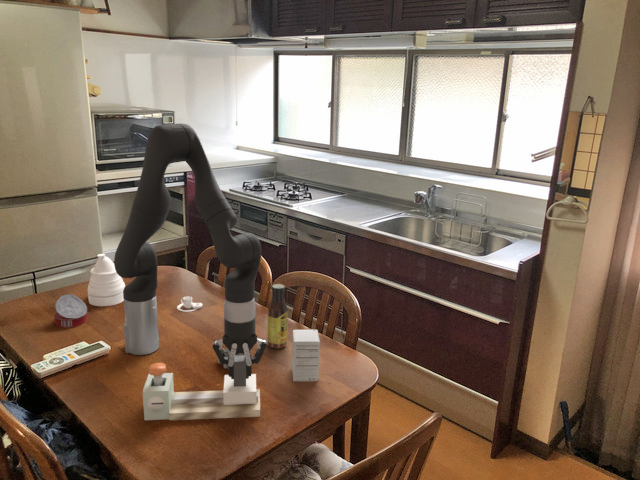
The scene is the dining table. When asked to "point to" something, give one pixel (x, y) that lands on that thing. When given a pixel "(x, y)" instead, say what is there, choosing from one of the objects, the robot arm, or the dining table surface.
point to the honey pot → (105, 284)
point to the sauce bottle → (277, 318)
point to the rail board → (209, 406)
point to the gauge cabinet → (158, 397)
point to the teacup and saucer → (189, 304)
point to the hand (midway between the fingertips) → (240, 376)
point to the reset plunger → (157, 372)
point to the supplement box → (305, 355)
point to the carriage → (239, 385)
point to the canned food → (70, 311)
